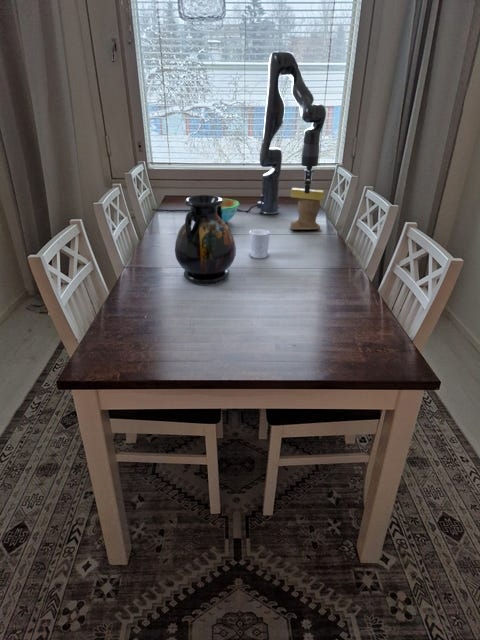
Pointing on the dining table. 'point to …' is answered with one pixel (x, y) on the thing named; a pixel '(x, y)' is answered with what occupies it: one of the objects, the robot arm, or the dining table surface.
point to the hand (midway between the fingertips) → (307, 191)
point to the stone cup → (306, 215)
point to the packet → (312, 194)
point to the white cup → (259, 243)
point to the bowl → (228, 209)
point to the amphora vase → (205, 242)
